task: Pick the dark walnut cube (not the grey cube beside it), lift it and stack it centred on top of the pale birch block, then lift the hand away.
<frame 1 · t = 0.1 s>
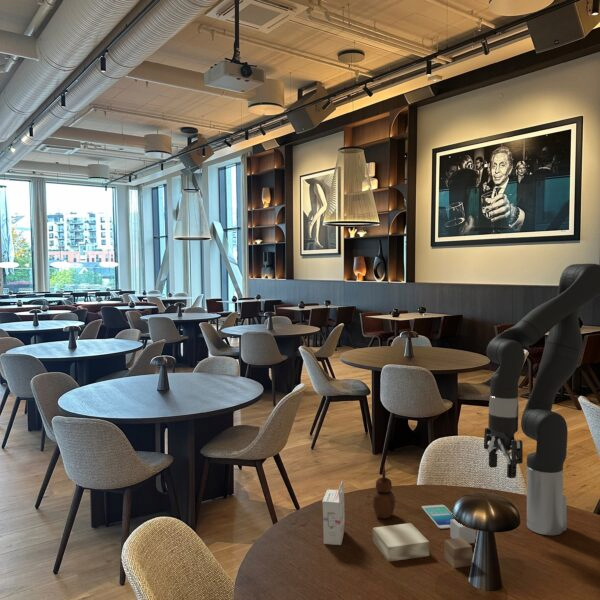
hand: (501, 472, 148), 17 cm above the table, tool pointing down, fingers open, 8 cm apart
grey cube: (463, 539, 146), on the table
walnut cube: (458, 562, 135), on the table
birch block: (400, 549, 142), on the table
ink cartridge box: (334, 538, 149), on the table
smartphone: (441, 519, 160), on the table
wooden figurine: (384, 516, 161), on the table
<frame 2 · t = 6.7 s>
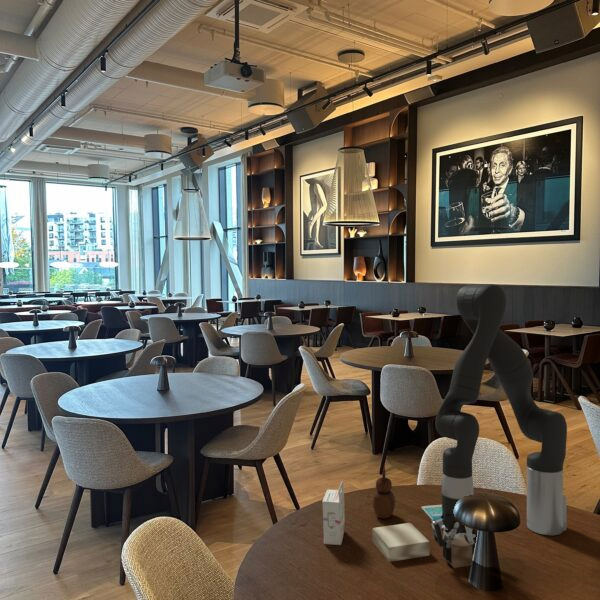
hand: (457, 559, 135), 1 cm above the table, tool pointing down, fingers closed on walnut cube, 4 cm apart
walnut cube: (458, 561, 135), on the table, touching gripper
everything else where it was.
when the fingers open (6 cm above the table, at t = 13.3 s): walnut cube drops 2 cm, resting on birch block.
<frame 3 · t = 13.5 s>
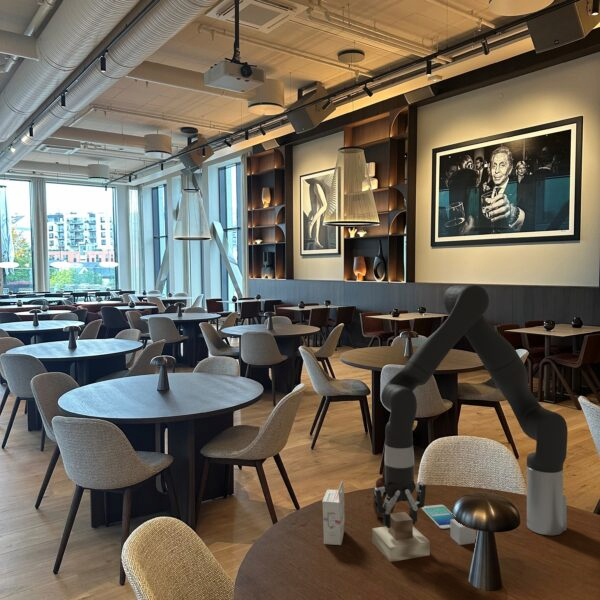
hand: (400, 524, 142), 6 cm above the table, tool pointing down, fingers open, 6 cm apart
walnut cube: (400, 534, 142), point 4 cm above the table, touching birch block
birch block: (400, 549, 142), on the table, touching walnut cube
everything else where it was.
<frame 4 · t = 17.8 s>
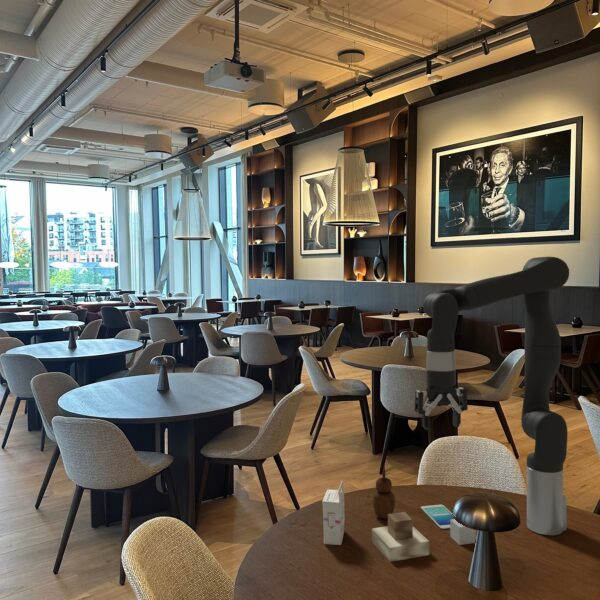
hand: (441, 427, 146), 30 cm above the table, tool pointing down, fingers open, 8 cm apart
walnut cube: (400, 534, 142), point 4 cm above the table
birch block: (399, 549, 142), on the table
everything else where it was.
at the end: walnut cube 0.1 cm off-centre on the birch block, point 4.0 cm above the birch block's base; walnut cube tilted 0°; the gripper is holding nothing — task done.
